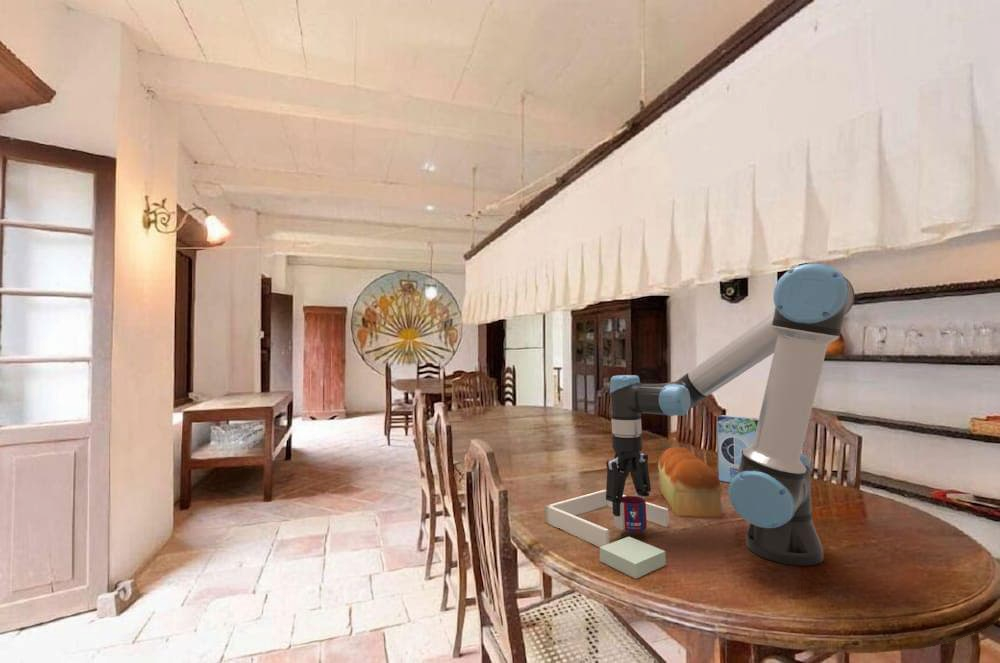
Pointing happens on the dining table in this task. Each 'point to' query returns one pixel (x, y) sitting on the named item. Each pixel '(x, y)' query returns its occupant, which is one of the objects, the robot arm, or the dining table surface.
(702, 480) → the bread
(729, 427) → the gum box
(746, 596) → the dining table surface
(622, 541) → the stand
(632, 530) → the mug
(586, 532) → the white u-shaped frame
